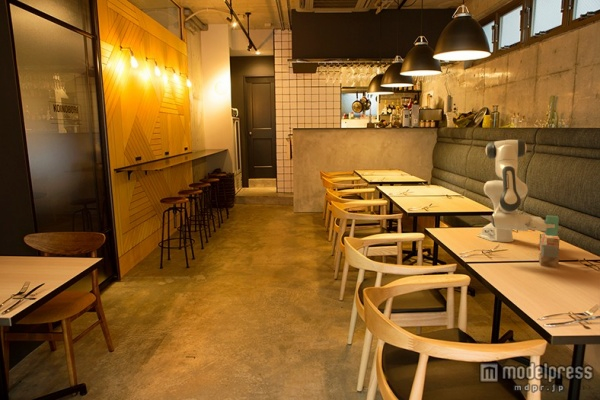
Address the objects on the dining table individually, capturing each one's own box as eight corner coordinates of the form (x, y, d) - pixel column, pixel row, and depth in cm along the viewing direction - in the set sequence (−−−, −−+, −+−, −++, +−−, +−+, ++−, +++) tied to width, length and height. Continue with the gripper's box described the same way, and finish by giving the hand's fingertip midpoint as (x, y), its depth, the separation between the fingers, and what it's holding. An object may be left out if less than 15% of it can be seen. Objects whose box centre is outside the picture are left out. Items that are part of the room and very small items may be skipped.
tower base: (540, 266, 224) (541, 257, 223) (538, 261, 231) (539, 253, 230) (558, 267, 220) (558, 258, 220) (555, 263, 228) (556, 254, 227)
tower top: (543, 257, 223) (544, 247, 222) (540, 253, 229) (541, 244, 228) (558, 258, 220) (559, 249, 220) (555, 254, 227) (556, 245, 226)
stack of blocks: (538, 248, 256) (540, 228, 254) (550, 249, 254) (552, 229, 252) (545, 258, 236) (547, 237, 234) (557, 259, 234) (559, 238, 232)
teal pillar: (546, 235, 222) (547, 216, 220) (544, 233, 226) (546, 215, 225) (557, 236, 220) (558, 217, 218) (555, 233, 224) (557, 215, 223)
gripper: (527, 220, 217) (558, 222, 212) (522, 213, 236) (550, 215, 230) (526, 232, 218) (556, 235, 213) (521, 224, 237) (549, 226, 231)
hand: (553, 224), depth 222 cm, fingers closed on teal pillar, 5 cm apart
